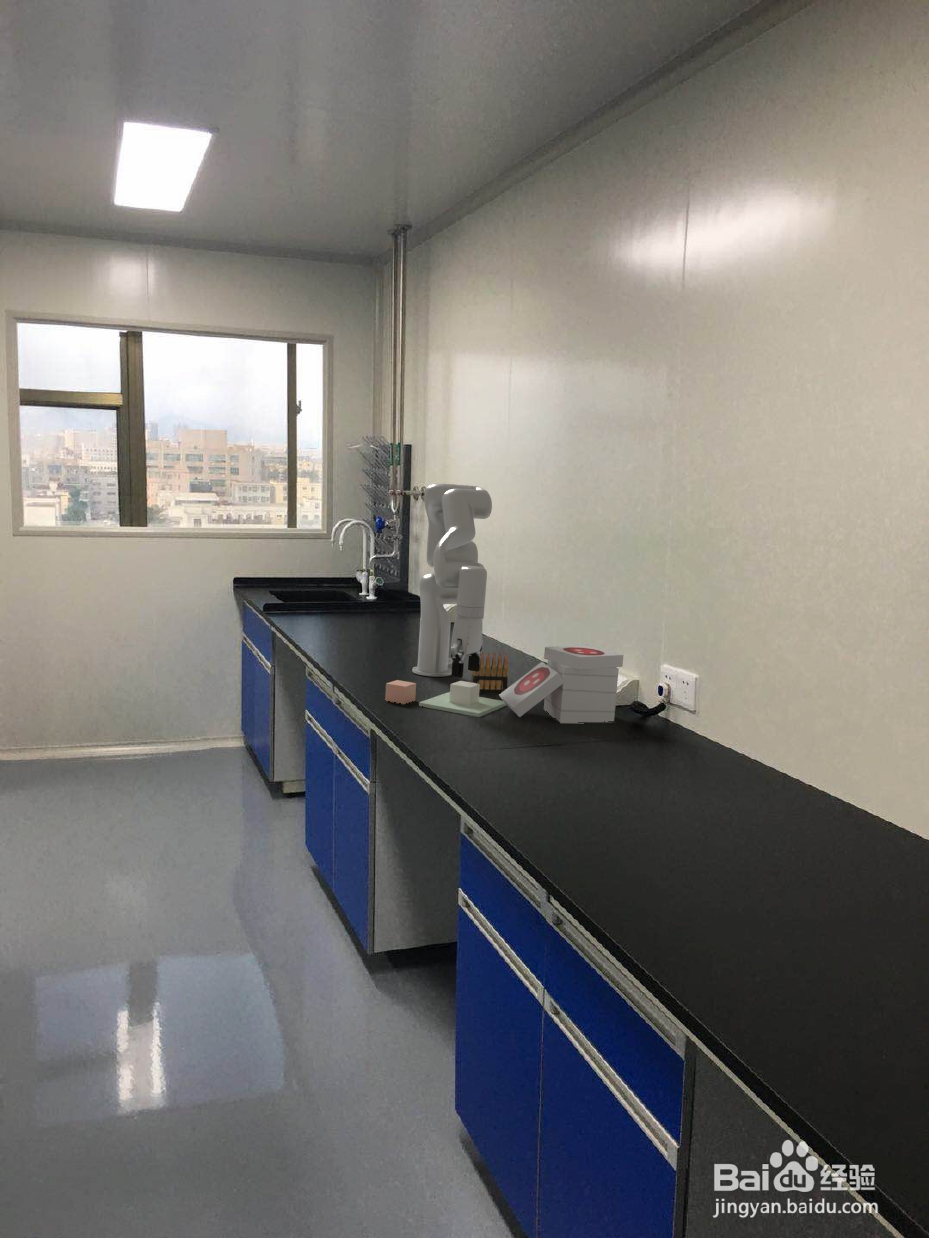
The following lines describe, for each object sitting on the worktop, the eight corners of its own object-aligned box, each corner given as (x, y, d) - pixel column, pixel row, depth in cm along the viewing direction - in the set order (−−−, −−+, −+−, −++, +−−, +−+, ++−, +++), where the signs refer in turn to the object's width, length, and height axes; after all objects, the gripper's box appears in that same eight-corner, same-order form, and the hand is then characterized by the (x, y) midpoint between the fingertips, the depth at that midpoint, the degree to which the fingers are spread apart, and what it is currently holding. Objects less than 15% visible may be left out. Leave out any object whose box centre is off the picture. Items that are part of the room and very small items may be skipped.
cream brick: (458, 698, 273) (460, 680, 272) (478, 701, 270) (479, 683, 269) (449, 702, 267) (450, 684, 267) (469, 705, 265) (470, 687, 264)
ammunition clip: (505, 692, 289) (508, 652, 288) (507, 693, 288) (510, 653, 286) (470, 691, 287) (472, 651, 286) (471, 693, 285) (474, 652, 284)
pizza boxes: (496, 707, 270) (500, 642, 267) (599, 708, 276) (605, 645, 274) (514, 725, 251) (519, 655, 249) (624, 726, 258) (630, 658, 255)
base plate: (450, 695, 281) (450, 691, 281) (507, 705, 273) (507, 701, 273) (418, 705, 265) (419, 702, 265) (478, 717, 257) (479, 713, 257)
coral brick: (396, 697, 274) (397, 680, 273) (415, 701, 271) (416, 683, 270) (385, 701, 268) (386, 683, 268) (404, 704, 266) (405, 686, 265)
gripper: (472, 606, 275) (467, 666, 278) (442, 613, 259) (438, 676, 262) (496, 610, 271) (491, 670, 274) (467, 617, 256) (463, 681, 259)
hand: (465, 673), depth 268 cm, fingers open, 9 cm apart
